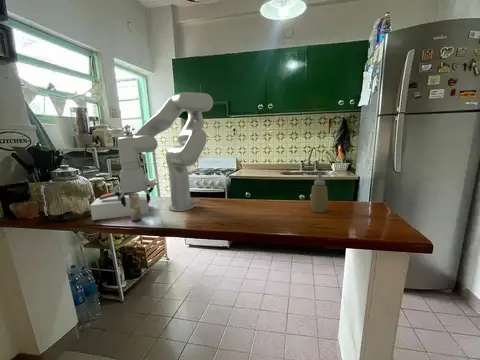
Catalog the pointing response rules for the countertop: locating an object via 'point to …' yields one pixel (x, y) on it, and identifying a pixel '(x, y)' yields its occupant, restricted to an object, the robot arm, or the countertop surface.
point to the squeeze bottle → (319, 195)
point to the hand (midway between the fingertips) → (136, 204)
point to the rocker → (109, 195)
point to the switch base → (116, 207)
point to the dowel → (135, 207)
